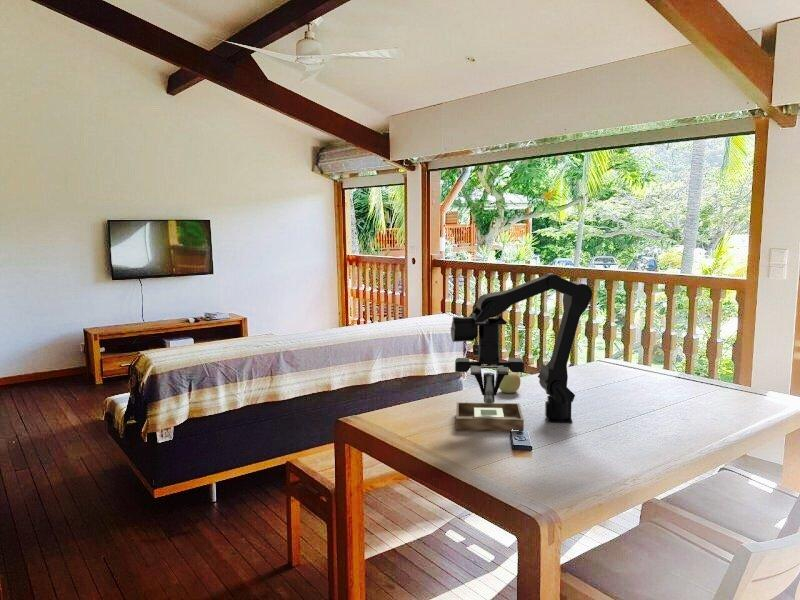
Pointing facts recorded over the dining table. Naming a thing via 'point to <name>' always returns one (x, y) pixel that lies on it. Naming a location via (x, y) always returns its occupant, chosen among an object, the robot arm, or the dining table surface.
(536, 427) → the dining table surface
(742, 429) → the dining table surface
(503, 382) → the fruit
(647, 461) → the dining table surface
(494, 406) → the crate
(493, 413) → the bore plate
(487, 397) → the peg
